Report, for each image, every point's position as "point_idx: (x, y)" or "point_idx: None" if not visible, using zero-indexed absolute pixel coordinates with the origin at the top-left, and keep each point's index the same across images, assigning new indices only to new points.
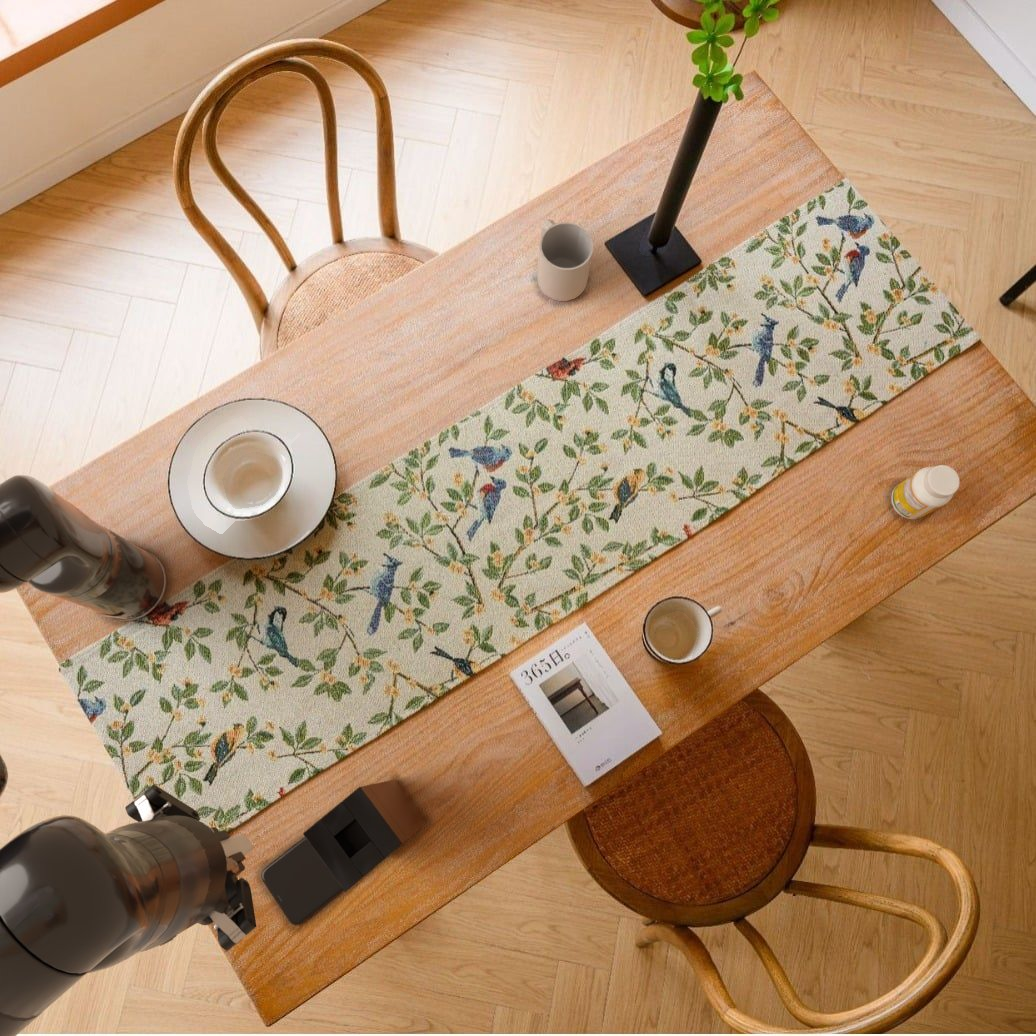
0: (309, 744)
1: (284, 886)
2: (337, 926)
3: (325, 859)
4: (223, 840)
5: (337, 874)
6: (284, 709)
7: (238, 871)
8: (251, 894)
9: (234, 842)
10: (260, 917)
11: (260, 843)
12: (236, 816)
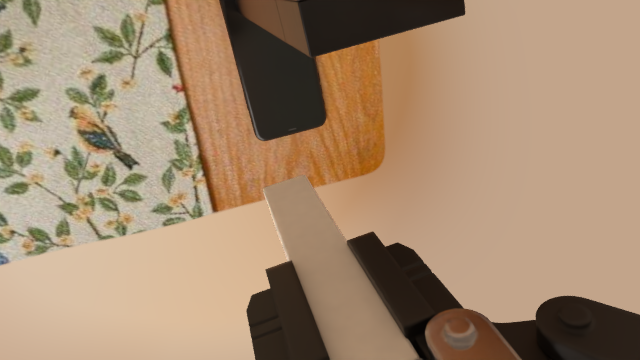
0: (129, 33)
1: (283, 120)
2: (345, 80)
3: (385, 29)
4: (307, 298)
5: (426, 16)
6: (68, 47)
7: (445, 291)
8: (638, 315)
9: (305, 243)
10: (300, 153)
11: (227, 130)
12: (187, 147)
